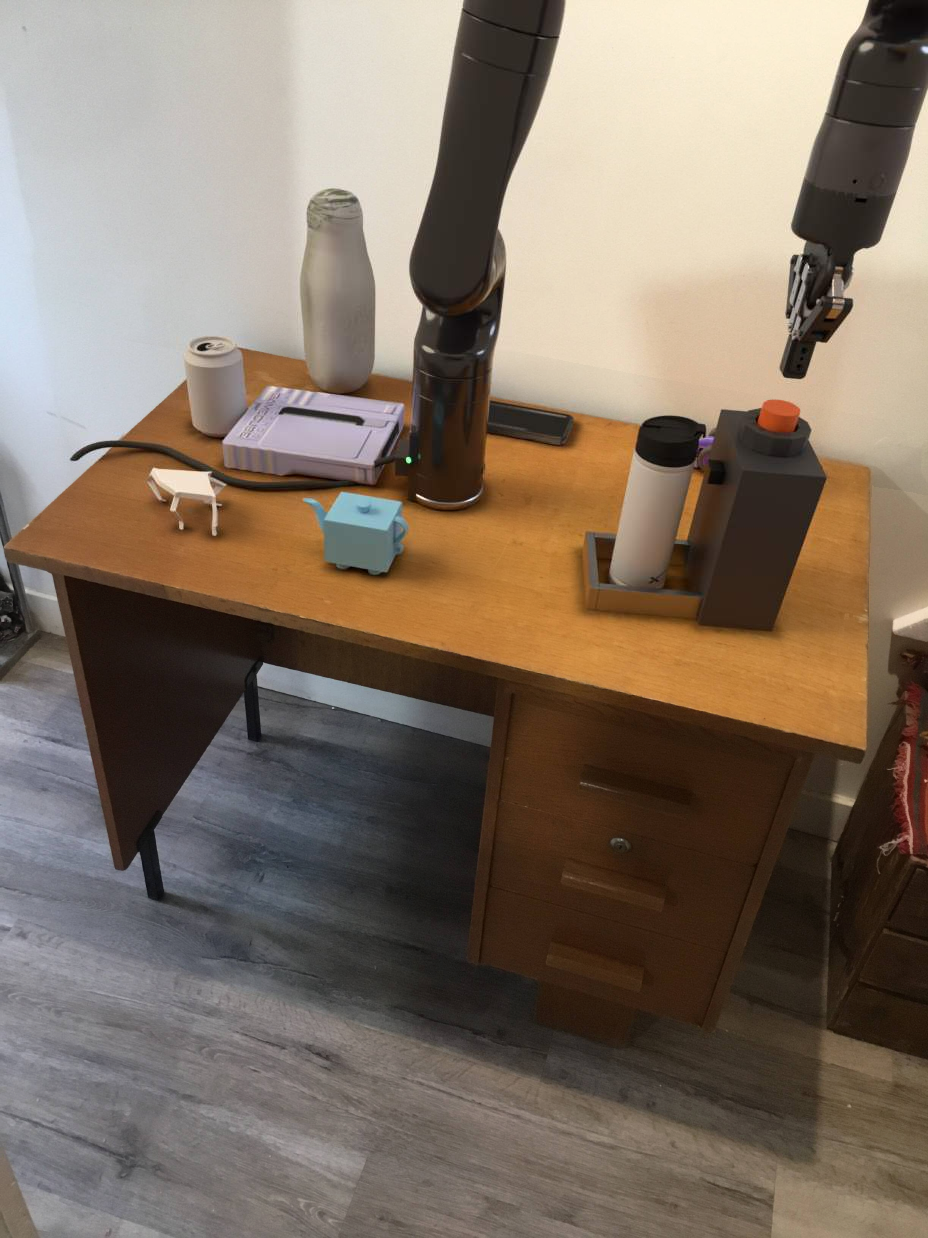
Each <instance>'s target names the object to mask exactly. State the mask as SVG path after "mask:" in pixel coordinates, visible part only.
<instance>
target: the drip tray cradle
mask: <svg viewBox="0 0 928 1238" xmlns="http://www.w3.org/2000/svg"><path fill="white" fill-rule="evenodd" d="M704 474H705V477H706V481H707V484H715V485H722V482H723V478H724V475H725V470H724V467H723V464H722V461H721V460H710V459H708V460H707V463H706V467H705V470H704V471H703V475H704ZM616 537H617V533H611V532H610V533H609V532H597V531H587V530H586V531H585V533H584V538H583V545H582V550H581V557H582V571H583V582H584V583H583V584H584V595H585V596H584V598H585V599H584V600H585V609H586V610H588V611H598V612H599V611H600V612H609V613H610V612H612V613H622V614H624V613H625V614H632V615H633V614H634V615H645V616H654V617H655V616H656V617H668V618H679V619H680V618H681V619H690V620H697V615H698V612H699V608H700V605H701V601H702V598H703V597H702V593H701V592H693V591H690V590H680V589H671V588H669V589H668V588H663V589H659V588H648V587H636V586H625V585H613V584H609V583H601V582H600V581H599V580H600V579H599V568H598V559H603V560H612V556H613V551H614V547H615V542H616ZM689 547H690V543H689V540H687V539H681V538H680V539H679V538H678V539H677V538H676V540H675V544H674V548H673V552H672V556H671V560H670V564H669V565H673V566H683V567H685V562H686V558H687V555H688V551H689Z"/></svg>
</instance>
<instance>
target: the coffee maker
mask: <svg viewBox="0 0 928 1238" xmlns="http://www.w3.org/2000/svg"><path fill="white" fill-rule="evenodd" d="M761 409H762V407H759V408H753V409H749V410H747V411H746V410H737V409H725V408H721V409H720V411H719V416H718V420H717V423H716V427H715V428H716V431H715V435H714V438H713V442H712V446H711V450H710V454H709V458H708V459H710V460H721V461H722V464H723V467H724V470H725V475H724V478H723V482H722V485H715V484H707V481H706V477H705V474H704V473H703V477H702V481H701V485H700V488H699V491H698V496H697V500H696V503H695V508H694V512H693V515H692V519H691V523H690V526H689V531H688V535H687V538H686V540H689V543H690V547H689V551H688V555H687V558H686V562H685V565H684V568H685V572H686V577H687V583H688V587H689V591H693V592H701V593H702V597H703V598H702V601H701V605H700V608H699V612H698V615H697V619H696V622H697V625H698V626H707V627H717V628H727V629H728V628H730V629H739V630H740V629H741V630H752V631H764V632H773V630H774V626H775V624H776V621H777V618H778V616H779V613H780V610H781V607H782V605H783V601H784V599H785V597H786V593H787V591H788V588H789V585H790V583H791V579H792V576H793V573H794V571H795V568H796V565H797V563H798V560H799V557H800V554H801V551H802V548H803V546H804V543H805V540H806V539H807V538H806V537H807V535H808V532H809V529H810V527H811V524H812V521H813V518H814V516H815V512H816V510H817V507H818V504H819V502H820V499H821V496H822V493H823V490H824V487H825V485H826V482H827V479H828V476H827V473H826V472H825V470H824V468H823V466H822V464H821V462H820V460H819V458H818V455H817V454H816V451H815V450H814V447H813V446H812V444H811V441H810V437H811V433H812V428H811V426H810V424H809V422H808V421H806V420H805V419H804V418H802V417H801V416H799V418H798V421H797V424H796V427H795V430H794V432H791V433H777V432H773V431H770V430H766V429H764V428H763V427H761V426H760V425H758V423H757V422H758V419H759V415H760V412H761Z"/></svg>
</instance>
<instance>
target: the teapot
mask: <svg viewBox="0 0 928 1238" xmlns="http://www.w3.org/2000/svg"><path fill="white" fill-rule="evenodd" d="M302 500H303V502H304V503H307V504H308V505H309V506H310V507H311V508H312V510H313V511H314V514H315V516H316V521H317V523H318V526H319V529H320V530H321V532H322V533H323V543H324V544H323V548H324V562H326V563H330V564H331V563H332V564H336V567H337V568H338V569H341V570H346V569H349V568H350V567H353V568H358V569H365V570H367V572H368V574H370V575H376V576H377V575H379V574H381V573H388V571H389V569H390V567H391V565H392V563H393V561H394V559H395V557H396V555H399V554H401V553H402V552H403V551H404V545H403V544H402V541H403V539H404V538H406V536H407V534H408V532H409V524H408V522H407V521H406V520H405V518H403V502H402V501H400V500H399V501H398V500H392V499H387V498H382V497H376V496H369V495H364V494H357V493H352V492H345V491H340V493H339V494H338V496H337V498H336V499H335V501H334V502H333V504H332V506H331V507H330V509H329V510H328V512H326V510H325V509H324V507H323V505H322V504H321V503H320V502H319V501H318V500H317V499H314V498H311V497H304V498H302Z"/></svg>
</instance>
